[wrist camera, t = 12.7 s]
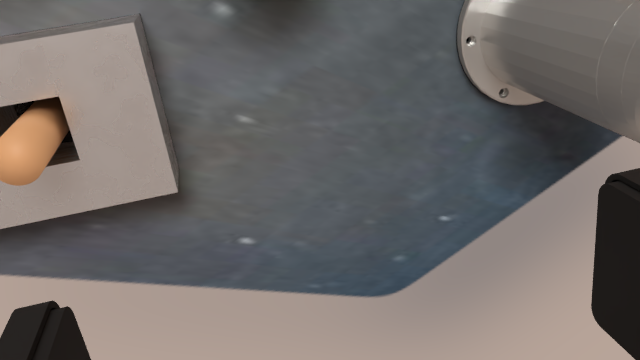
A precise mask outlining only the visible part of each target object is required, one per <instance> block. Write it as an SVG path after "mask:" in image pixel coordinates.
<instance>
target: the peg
mask: <svg viewBox="0 0 640 360" xmlns="http://www.w3.org/2000/svg"><path fill="white" fill-rule="evenodd" d="M69 130H70V128H69V125H68V122H67V119H66V116H65V113H64V110H63V107H62V104H61V101H60V98H59V97H52V98H46V99H41V100H36V101H35V102H34V103H33V104H32V105H31V106H30V107H29V108H28V109H27V110H26V111H25V112H24V113H23V114H22V115H21V116H20V117H19V118H18V119H17V120H16V121H15V122H14V124H13V125H12V126H11V127H10V128H9V129H8V130H7V131H6V132H5V133H4V134H3V135H2V136H1V137H0V180H1V181H2V182H4V183H7V184H10V185H16V186H21V185H27V184H30V183H32V182H34V181H35V180H36V179H38V178H39V176H40V175H41V173H42V172H43V170H44V169H45V167H46V166H47V164H48V163H49V161H50V159H51V158H52V156H53V155H54V153H55V152H56V150H57V148H58V147H59V145H60V144H61V142H62V141H63V139H64V137H65V136H66V134H67V133H68V131H69Z"/></svg>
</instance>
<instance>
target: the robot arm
mask: <svg viewBox="0 0 640 360" xmlns="http://www.w3.org/2000/svg"><path fill="white" fill-rule="evenodd" d="M468 37H469V41H468V42H467V43H466V39H467V38H468ZM457 47H458V52H459V58H460V61H461V64H462V66H463V69H464V71H465V73H466V75H467V76H468V78H469V79H470V81H471V82H472V83H473V84H474V85H475V86H476V87H477V88H478V89H479V90H480V91H481V92H482V93H484V94H486V95H487V96H489V97H491V98H492V99H495V100H497V101H499V102H501V103H506V104H510V105H531V104H535V103H540V102H543V101H546V102H549V103H551V104H553V105H555V106H558V107H560V108H562V109H564V110H567V111H569V112H571V113H573V114H576V115H578V116H580V117H582V118H584V119H587V120H589V121H591V122H593V123H596V124H598V125H600V126H602V127H604V128H607V129H609V130H611V131H613V132H616V133H618V134H620V135H623V136H625V137H628V138H630V139H632V140H635V141H637V142H639V143H640V0H465V2H464V5H463V7H462V10H461V13H460V17H459V23H458V28H457ZM500 90H501V92H500V93H499V91H500ZM591 306H592V313H593V316H594V318H595V320H596V322H597V323H598V324H599V326H600V327H601V328H602V329H603V330H604V331H606V332H607V333H608V334H609V335H610V336H611V337H612V338H613V339H614V340H615V341H616V342H617V343H618V344H619V345H621V346H622V347H623V348H624V349H625V350H626V351H627V352H628V353H629V354H630V355H631V356H632V357H633V358H634V359H636V360H640V168H638V169H634V170H629V171H625V172H620V173H616V174H612V175H610V176H609V177H608V178H607V180H606V182H605V184H604V185H602V186H601V188H600V189H599V194H598V210H597V226H596V242H595V257H594V273H593V289H592V304H591ZM0 360H91V359H90V356H89V353H88V351H87V348H86V345H85V342H84V340H83V337H82V334H81V332H80V329H79V327H78V324H77V321H76V319H75V316H74V313H73V311H72V310H71V309H70V308H69V307H64V308H60V307H59V305H58V304H57V303H56V302H54V301H49V302H45V303H40V304H36V305H32V306H27V307H23V308H18V309H15V310H14V312H13V313H12V315H11V317H10V319H9V321H8V323H7V325H6V327H5V329H4V332H3V334H2V336H1V338H0Z"/></svg>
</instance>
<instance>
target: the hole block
mask: <svg viewBox="0 0 640 360" xmlns="http://www.w3.org/2000/svg"><path fill="white" fill-rule="evenodd" d="M58 96H59V98H60V101H61V104H62V107H63V110H64V113H65V116H66V119H67V122H68V125H69V128H70V131H71V135H72V138H73V141H72V142H66V143H61V144H60V145H59V147H58V148H57V150H56V152H55V153H54V155H53V156H52V158H51V159H50V161H49V163H48V164H47V166H46V167H45V169H44V170H43V172H42V173H41V175H40V176H39V178H38V179H36V180H35V181H34V182H32V183H30V184H27V185H21V186H16V185H10V184H7V183H4V182H2V181H1V180H0V229H3V228H8V227H13V226H18V225H22V224H27V223H32V222H37V221H42V220H47V219H51V218H56V217H61V216H66V215H71V214H75V213H80V212H85V211H90V210H95V209H100V208H104V207H109V206H114V205H119V204H124V203H129V202H133V201H138V200H143V199H148V198H153V197H158V196H162V195H167V194H172V193H177V192H178V179H179V166H178V162H177V158H176V154H175V150H174V146H173V142H172V138H171V135H170V131H169V127H168V123H167V119H166V115H165V111H164V107H163V103H162V99H161V95H160V91H159V87H158V83H157V80H156V76H155V72H154V68H153V64H152V60H151V56H150V52H149V48H148V44H147V40H146V36H145V32H144V29H143V25H142V21H141V17H140V14H135V15H129V16H123V17H117V18H111V19H104V20H98V21H92V22H86V23H80V24H74V25H68V26H62V27H56V28H50V29H44V30H37V31H31V32H25V33H19V34H13V35H7V36H1V37H0V137H1V136H2V135H3V134H4V133H5V132H6V131H7V130H8V129H9V128H10V127H11V126H12V125H13V124H14V122H15V121H16V120H17V119H18V117H17V114H16V111H15V108H14V106H13V104H19V103H24V102H30V101H35V100H41V99H46V98H52V97H58Z"/></svg>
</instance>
